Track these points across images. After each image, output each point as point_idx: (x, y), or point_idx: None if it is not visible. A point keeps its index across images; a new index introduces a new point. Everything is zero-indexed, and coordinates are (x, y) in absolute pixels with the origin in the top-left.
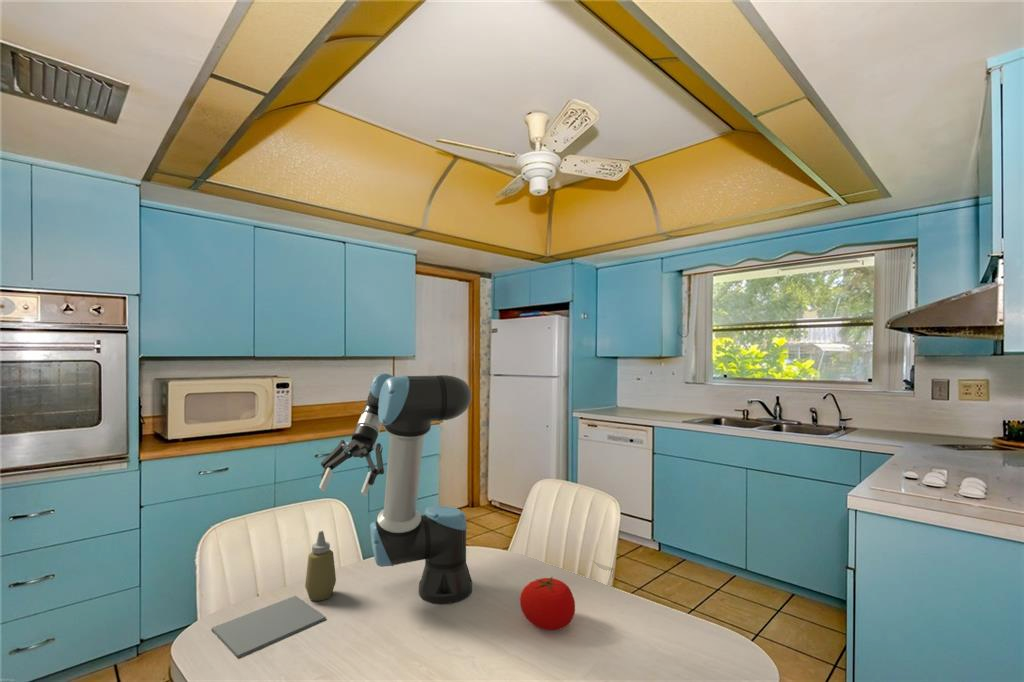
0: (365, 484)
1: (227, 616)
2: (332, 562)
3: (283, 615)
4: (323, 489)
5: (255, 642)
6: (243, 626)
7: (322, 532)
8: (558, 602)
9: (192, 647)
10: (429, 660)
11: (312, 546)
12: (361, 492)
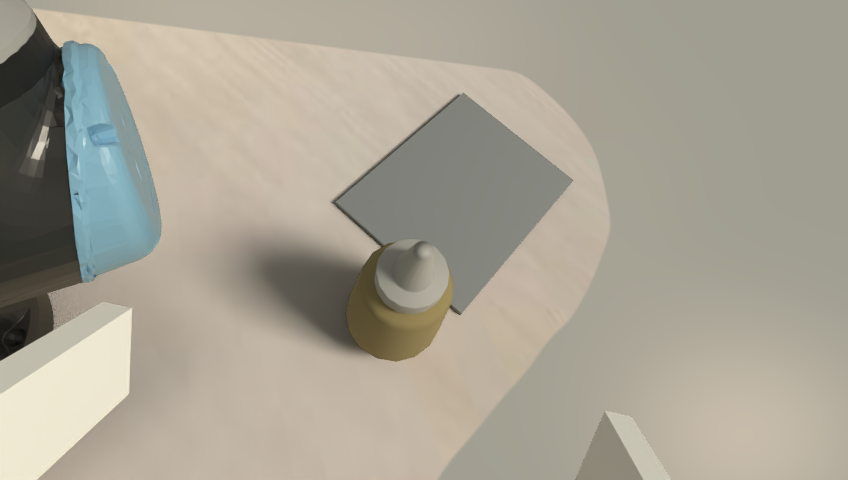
0: (23, 354)
1: (576, 233)
2: (356, 287)
3: (444, 215)
4: (587, 464)
5: (452, 125)
6: (510, 179)
7: (413, 245)
8: None
9: (564, 134)
10: None
11: (442, 256)
12: (126, 315)
